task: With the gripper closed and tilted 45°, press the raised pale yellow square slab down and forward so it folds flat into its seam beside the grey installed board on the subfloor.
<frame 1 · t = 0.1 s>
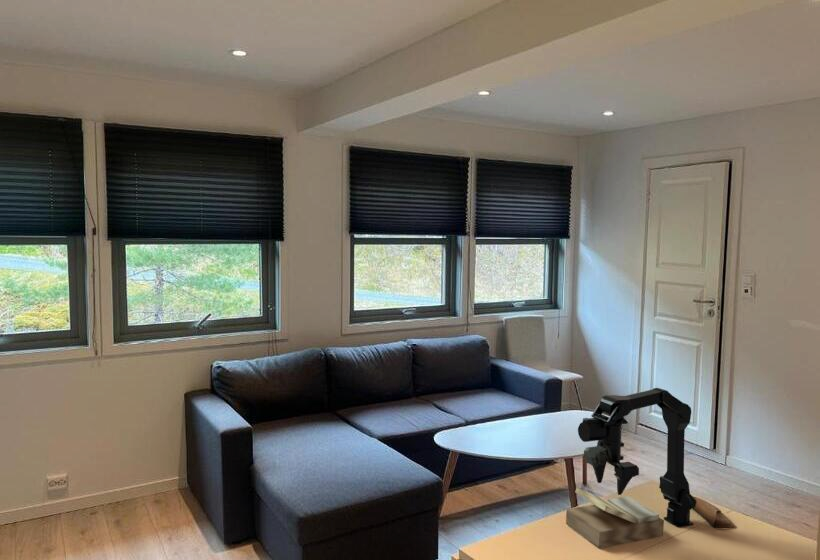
hand: (609, 488, 181), 15 cm above the table, tool pointing down, fingers open, 9 cm apart
pale yellow square slab: (605, 505, 183), point 9 cm above the table, hinge at 25.0°
sunglasses case: (711, 518, 197), on the table
floor base: (613, 530, 185), on the table
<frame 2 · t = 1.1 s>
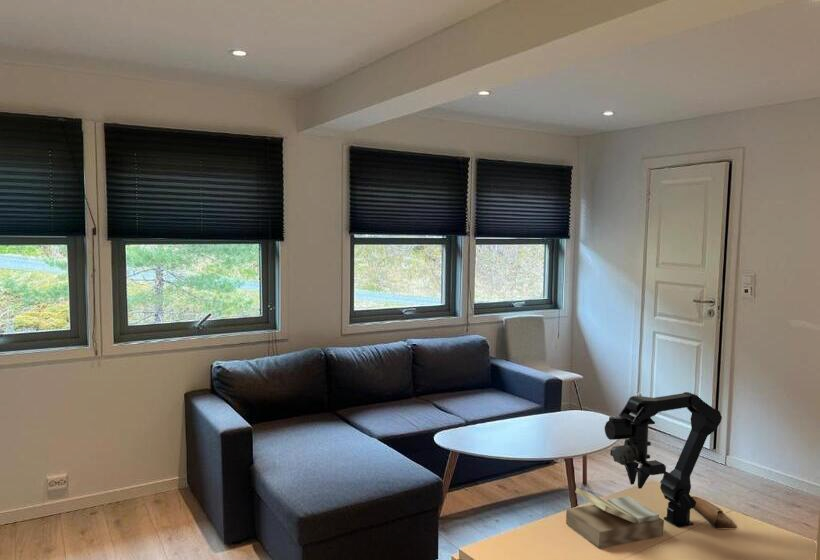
hand: (636, 486, 187), 13 cm above the table, tool pointing down, fingers open, 3 cm apart
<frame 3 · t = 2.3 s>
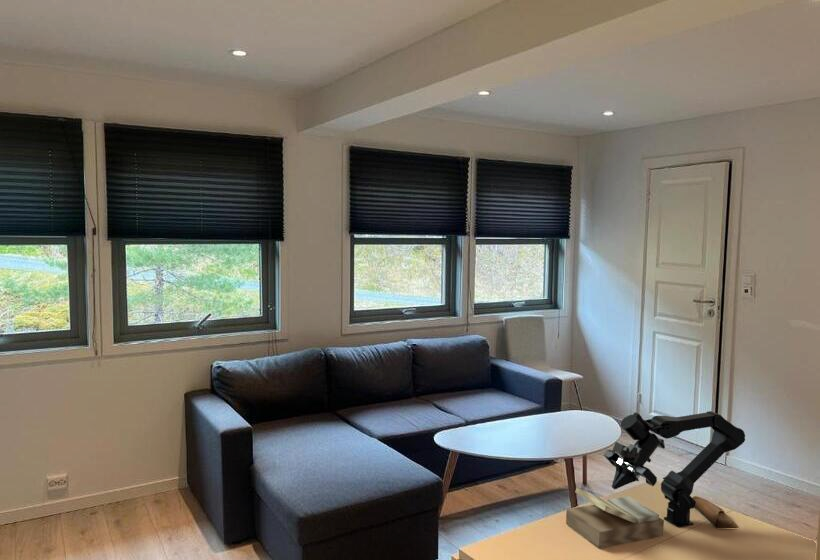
hand: (613, 488, 184), 14 cm above the table, tool tilted 45°, fingers closed
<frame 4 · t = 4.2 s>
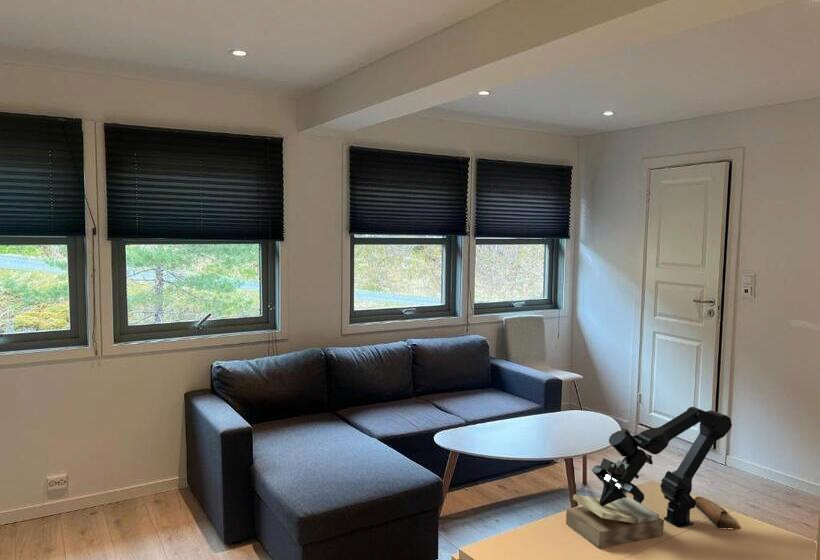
hand: (600, 504, 183), 9 cm above the table, tool tilted 45°, fingers closed, pressing on pale yellow square slab
pale yellow square slab: (604, 508, 183), point 8 cm above the table, hinge at 15.2°, touching gripper
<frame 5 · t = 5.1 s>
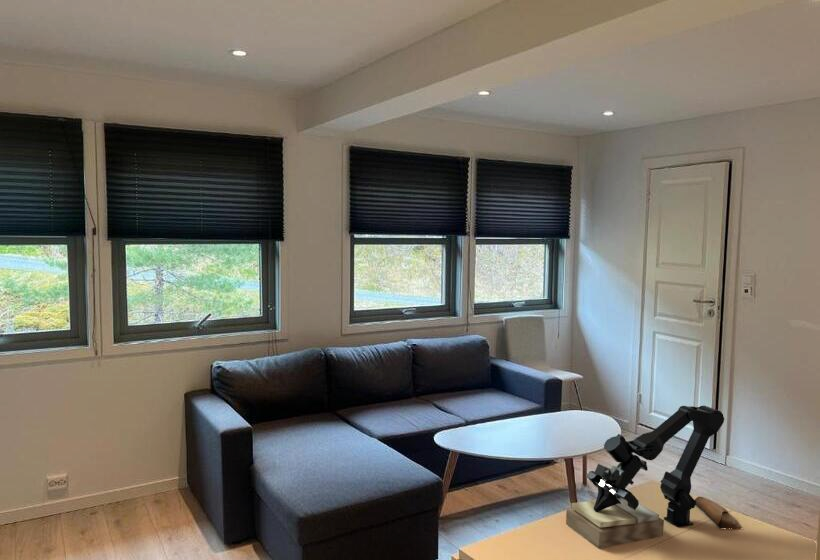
hand: (594, 510, 182), 7 cm above the table, tool tilted 45°, fingers closed, pressing on pale yellow square slab
pale yellow square slab: (602, 512, 183), point 6 cm above the table, hinge at 2.6°, touching gripper
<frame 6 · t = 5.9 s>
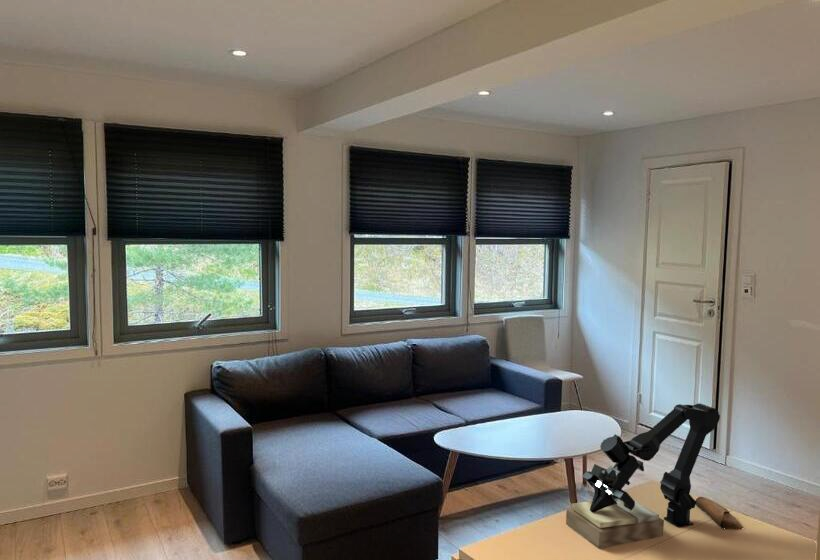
hand: (591, 511, 182), 7 cm above the table, tool tilted 45°, fingers closed, pressing on pale yellow square slab
pale yellow square slab: (602, 513, 183), point 6 cm above the table, hinge at 2.1°, touching gripper
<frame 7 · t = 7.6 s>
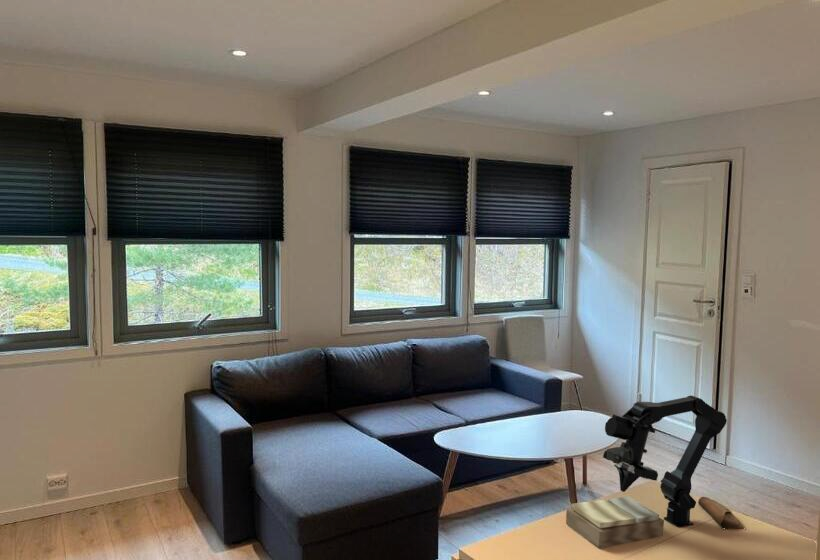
hand: (622, 491, 185), 12 cm above the table, tool tilted 15°, fingers closed
pale yellow square slab: (602, 513, 183), point 6 cm above the table, hinge at 1.9°
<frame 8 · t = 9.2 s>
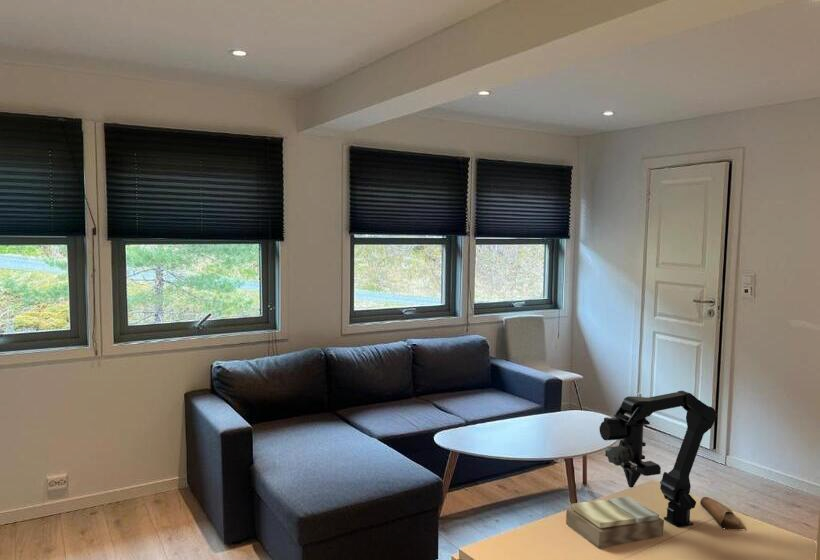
hand: (630, 487, 186), 13 cm above the table, tool pointing down, fingers closed
at the end: pale yellow square slab at +2° (first picture: +25°); sunglasses case moved 3.8 cm from its start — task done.
